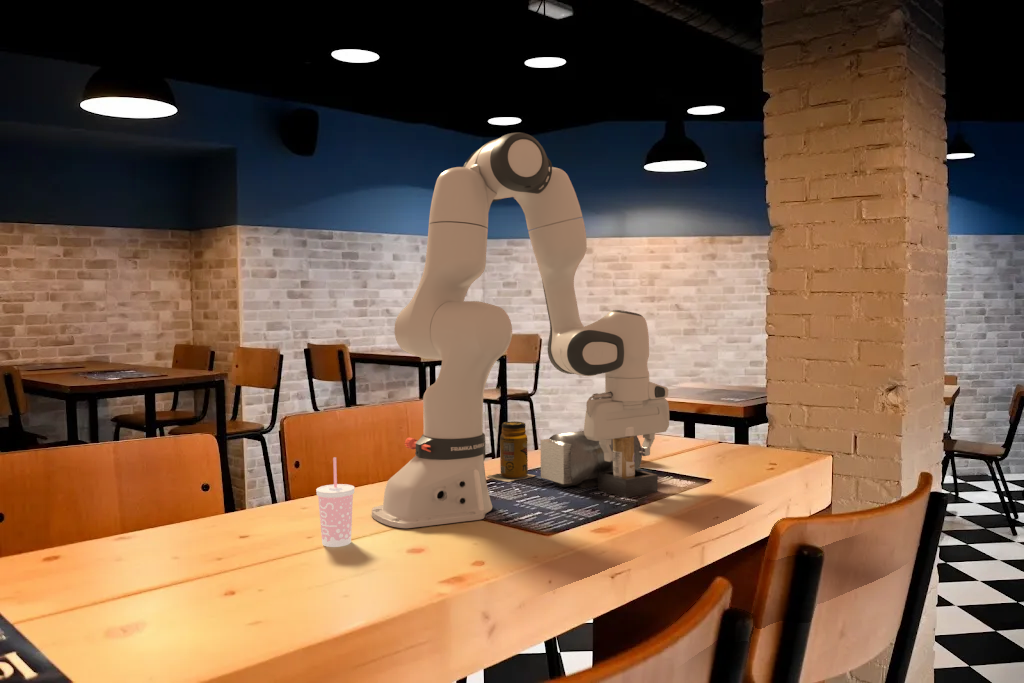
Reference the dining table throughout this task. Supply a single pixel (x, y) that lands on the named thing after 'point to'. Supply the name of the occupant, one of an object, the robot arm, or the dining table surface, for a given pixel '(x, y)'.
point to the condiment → (513, 453)
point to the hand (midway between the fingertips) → (627, 458)
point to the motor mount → (591, 466)
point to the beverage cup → (335, 512)
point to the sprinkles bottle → (624, 455)
